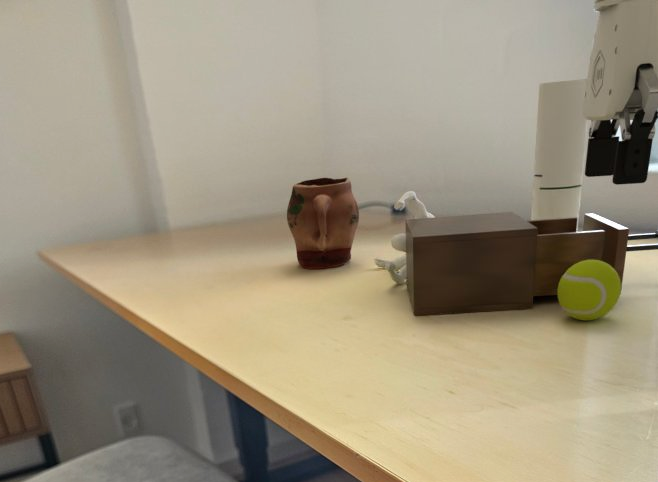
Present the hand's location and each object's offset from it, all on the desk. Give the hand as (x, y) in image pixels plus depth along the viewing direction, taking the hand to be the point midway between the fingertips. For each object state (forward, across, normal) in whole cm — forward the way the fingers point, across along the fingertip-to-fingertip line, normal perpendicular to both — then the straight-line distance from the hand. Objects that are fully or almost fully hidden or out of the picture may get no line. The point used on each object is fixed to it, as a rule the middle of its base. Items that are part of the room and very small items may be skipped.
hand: (613, 179), depth 71 cm
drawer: (+14, -11, +2) cm, 18 cm away
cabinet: (+15, -11, -14) cm, 23 cm away
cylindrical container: (+15, -33, +3) cm, 36 cm away
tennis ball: (+15, +2, -2) cm, 15 cm away
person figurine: (+15, -27, -19) cm, 36 cm away
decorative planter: (+15, -38, -34) cm, 54 cm away
